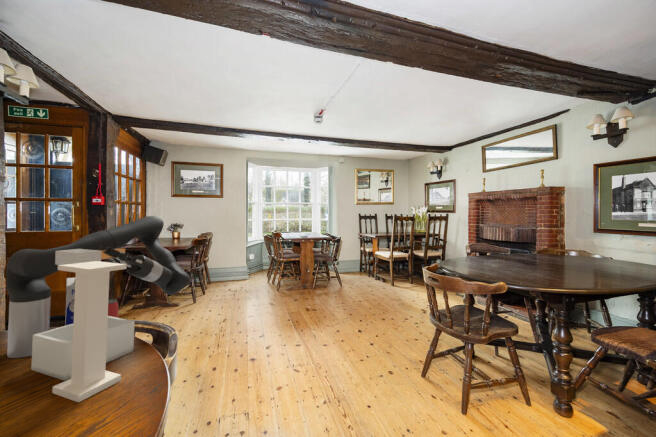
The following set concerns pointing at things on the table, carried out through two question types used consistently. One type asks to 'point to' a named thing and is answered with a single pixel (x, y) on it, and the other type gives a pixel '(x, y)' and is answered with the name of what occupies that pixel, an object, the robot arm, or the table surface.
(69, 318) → the milk carton
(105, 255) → the metal head mallet
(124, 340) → the box
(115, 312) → the beer can
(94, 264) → the stand
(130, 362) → the table surface
